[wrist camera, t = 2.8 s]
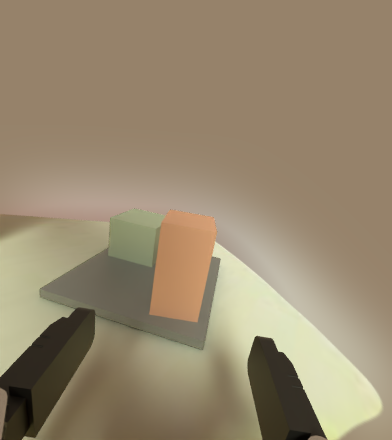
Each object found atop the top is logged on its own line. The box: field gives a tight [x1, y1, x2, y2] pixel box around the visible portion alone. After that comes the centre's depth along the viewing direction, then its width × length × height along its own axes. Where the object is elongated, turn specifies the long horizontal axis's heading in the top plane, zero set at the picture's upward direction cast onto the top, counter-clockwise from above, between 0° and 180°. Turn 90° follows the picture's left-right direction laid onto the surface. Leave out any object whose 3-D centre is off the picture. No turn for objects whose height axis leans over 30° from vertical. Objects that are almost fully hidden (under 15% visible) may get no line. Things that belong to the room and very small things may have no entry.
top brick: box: [149, 210, 217, 322], centre depth 21 cm, size 5×5×10 cm
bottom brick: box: [108, 209, 165, 267], centre depth 32 cm, size 7×7×6 cm
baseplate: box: [40, 248, 220, 350], centre depth 28 cm, size 18×18×1 cm
